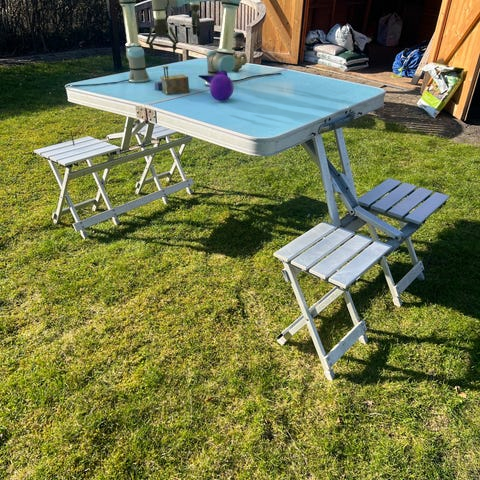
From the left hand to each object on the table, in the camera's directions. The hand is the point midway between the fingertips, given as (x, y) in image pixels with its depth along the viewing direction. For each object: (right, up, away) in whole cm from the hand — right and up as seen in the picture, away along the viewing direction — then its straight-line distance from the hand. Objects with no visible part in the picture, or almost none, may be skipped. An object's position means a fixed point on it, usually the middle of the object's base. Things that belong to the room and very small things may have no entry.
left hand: (196, 35), depth 349 cm
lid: (-10, -51, -49) cm, 71 cm away
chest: (-10, -58, -44) cm, 74 cm away
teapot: (+30, -21, +19) cm, 41 cm away
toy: (+20, -69, -63) cm, 96 cm away
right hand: (-14, -42, -65) cm, 79 cm away
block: (-22, -54, -36) cm, 69 cm away
